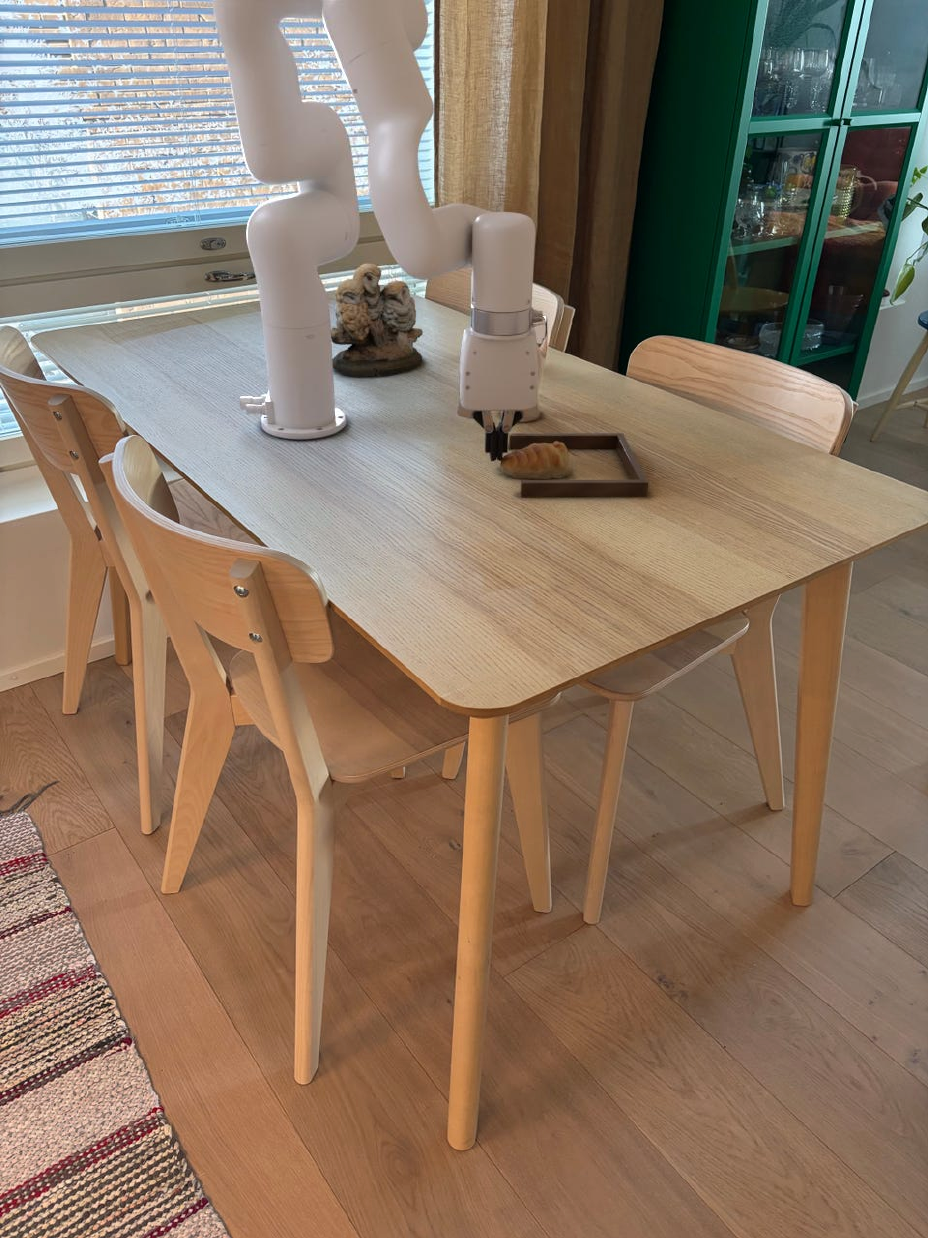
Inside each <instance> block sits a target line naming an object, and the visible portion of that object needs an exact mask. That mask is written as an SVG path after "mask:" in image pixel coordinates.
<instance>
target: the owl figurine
mask: <svg viewBox="0 0 928 1238" xmlns="http://www.w3.org/2000/svg"><path fill="white" fill-rule="evenodd" d="M381 277H382V269H381V268H380V267H378V266H377V264H374V263H364V264H361V265H360V266H359V267H357V268H356V269H355V270H354V272H353V276H352V278H346V279H345V280H344V281H342V282H340V283H339V284H338V285H337V288H336V290H335V293H334V295H335V301H336V304H335V306H334V307H335V308H334V312H335V313H334V314H335V318H336V321H335V324H336V327H331V343H333V344H335V345H339V346H347V345H349V346H348V347H347V349H344V350H342V351H339V352H338V353H337V354H336V355H335V356H333V357H332V362H333V370H335V371H337V372H338V373H339V374H341V375H343V376H347V377H355V378H365V377H374V376H375V375H377V376H380V377H384V376H391V375H397V374H401V373H405V372H407V371H412V370H414V369H416V368H417V367H419V366H420V365H421V363H422V362H423V355H422V354H421V353H420V352H419V351H418V350H417V348H415V347H414V343H416V342H417V340H418V339H419V338H421V336H423V333H424V331H423V329H422V328H418V327H414V326H415V325H416V323H417V321H416V318H417V310H416V302H415V299H414V298H413V296H411V293H410V288H409V286H408V284H407V283H406V282H404V281H403V280H398V279H396V280H393V281H390V282H388V283H387V284H386V285H385V286H384V287H383V289H381V285H380V284H379V282H380V279H381ZM376 371H377V372H376Z"/></svg>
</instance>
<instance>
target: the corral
mask: <svg viewBox="0 0 928 1238" xmlns="http://www.w3.org/2000/svg"><path fill="white" fill-rule="evenodd" d="M555 441H557V442H559V443H563V444H564V445H565V446H566V448H567V450H574V449H575V450H578V449H579V450H580V449H582V450H584V449H585V450H586V449H587V450H590V449H592V450H593V449H594V450H595V449H596V450H598V449H600V450H601V449H604V450H605V449H607V450H609V449H611V450H613V449H616V451H617V454H618V455H619V458H620V459H621V461H622V464H623V465H624V467H625V469H626V471H627V474H628V476H629V478H630V479H520V492H519V493H520V497H521V498H593V497H594V498H597V497H598V498H599V497H600V498H602V497H604V498H605V497H610V498H611V497H612V498H613V497H614V498H615V497H616V498H617V497H623V498H625V497H647V496H648V491H649V481H648V479H647V476H646V475H645V473H644V471H643V469H642V467H641V465H640V463H639V461H638V459H637V457H636V455H635V454H634V452H633V449H632V448H631V446H630V444H629V442H628V440H627V438H626V436H625V434H624V433H622V432H614V433H613V432H608V433H607V432H604V433H603V432H593V433H592V432H591V433H590V432H588V433H587V432H584V433H583V432H581V433H579V432H577V433H576V432H573V433H571V432H570V433H569V432H567V433H565V432H564V433H563V432H562V433H561V432H560V433H557V432H556V433H554V432H551V433H550V432H549V433H548V432H547V433H546V432H545V433H544V432H543V433H537V432H536V433H532V432H529V433H526V432H525V433H524V432H523V433H520V432H519V433H517V432H515V433H514V432H513V433H512V432H509V433H508V449H509V450H521V449H523V448H525V447H528V446H529V445H530V444H533V443H537V444H540V443H548V444H553V443H554V442H555Z"/></svg>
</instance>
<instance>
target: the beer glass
mask: <svg viewBox="0 0 928 1238" xmlns="http://www.w3.org/2000/svg"><path fill="white" fill-rule="evenodd" d="M531 328H534V329H535V333H536V340H537V355H538V395H539V394H540V393H539V392H540V387H541V382H542V377H543V373H544V368H545V365H546V359H547V352H548V316H546V315H545V314H543V320H542V322H536V323H533V325H531ZM537 407H538V415H537V416H534V417H530V418H525V419H521V420H520V421H519V422H518V423H528V422H532V421H535V420H536V421H537V419H539V418H540V416H541V410H540V409H541V408H540V401H539V397H538V398H537ZM502 412H503V411H500V417H502Z"/></svg>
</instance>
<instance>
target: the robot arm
mask: <svg viewBox="0 0 928 1238" xmlns="http://www.w3.org/2000/svg"><path fill="white" fill-rule="evenodd" d="M211 2H212V10H213V16H214V21H215V25H216V29H217V32H218V33H217V34H218V37H219V39H220V42H221V46H222V50H223V54H224V57H225V61H226V65H227V66H226V67H227V71H228V76H229V82H230V90H231V96H232V100H233V106H234V111H235V118H236V123H237V128H238V129H237V130H238V134H239V138H240V145H241V150H242V154H243V155H242V156H243V159H244V162H245V165H246V168H247V170H248V172H249V174H250V175H251V176H252V177H253V178H254V179H255V180H256V181H258V182H259V183H261V184H263V185H267V186H284V185H285V186H286V185H289V184H294V183H297V189H298V192H297V193H291V194H287V195H283V196H278V197H274V198H272V199H269V200H267V201H265V202H263V203H261V204H260V205H259V206H258V207H256V208H255V209H254V211H253V212H252V213H251V215H250V217H249V220H248V221H247V224H246V235H245V236H246V244H247V248H248V253H249V256H250V259H251V263H252V266H253V271H254V275H255V279H256V284H257V289H258V298H259V304H260V314H261V315H260V316H261V317H260V318H261V322H262V334H263V346H264V354H265V355H264V356H265V365H266V376H267V387H268V391H267V394H261V395H260V397H259V396H257V397H256V396H255V397H253V396H240V397H239V407H240V410H241V411H245V413H246V415H257V414H258V415H259V414H260V415H261V414H262V415H261V416H260V426H261V429H262V430H263V431H264V432H266V433H267V434H268V435H270V436H273V437H276V438H280V439H287V440H315V439H320V438H325V437H329V436H332V435H335V434H337V433H339V432H340V431H342V430H343V429H344V428H345V427H346V426H347V415H346V414H345V412H344V411H343V410H342V409H340V408H338V407H336V401H335V386H334V385H335V381H334V380H335V379H334V369H333V362H332V359H333V345H332V341H331V340H332V339H331V329H332V325H331V314H330V312H331V311H330V302H329V297H328V293H327V290H326V288H325V285H324V283H323V281H322V279H321V276H320V274H319V271H318V267H320V266H322V265H326V264H328V263H333V262H335V261H338V260H341V259H343V258H345V257H347V256H348V255H349V254H350V253H351V252H353V250H354V248H356V246H357V244H358V241H359V238H360V232H361V217H360V206H359V198H358V191H357V183H356V175H355V174H356V173H355V167H354V160H353V159H354V158H353V152H352V146H351V142H350V141H351V140H350V137H349V134H348V131H347V129H346V126H345V124H344V122H343V120H342V119H341V116H340V115H339V114H338V113H337V112H336V110H335V109H333V108H332V107H331V106H330V105H328V104H327V103H325V102H322V101H319V100H314V99H303V96H302V92H301V88H300V82H299V71H298V66H297V61H296V58H295V56H294V53H293V50H292V48H291V45H290V44H289V42H288V40H287V38H286V37H285V34H284V33H283V32H282V30H281V28H280V23H281V21H283V20H287V19H288V20H290V19H291V20H322V22H323V26H324V28H325V31H326V34H327V37H328V39H329V41H330V45H331V46H332V49H333V51H334V54H335V57H336V59H337V61H338V64H339V66H340V68H341V71H342V73H343V76H344V78H345V80H346V83H347V85H348V87H349V90H350V92H351V95H352V97H353V99H354V102H355V105H356V108H357V110H358V112H359V115H360V117H361V119H362V122H363V124H364V127H365V129H366V132H367V133H366V134H367V136H368V149H367V150H368V151H367V184H368V185H367V186H368V194H369V200H370V204H371V208H372V212H373V213H374V214H373V215H374V217H375V219H376V221H377V225H378V227H379V229H380V231H381V233H382V236H383V239H384V241H385V243H386V245H387V248H388V250H389V252H390V254H391V255H392V257H393V259H394V260H395V262H396V263H397V265H398V266H399V267H400V268H401V270H402V271H403V272H405V273H406V274H407V275H408V276H410V277H411V278H413V279H416V280H420V281H421V280H422V281H429V280H435V279H437V278H440V277H443V276H445V275H448V274H450V273H453V272H457V271H460V270H463V269H467V268H470V267H471V279H470V280H471V281H470V282H471V283H470V284H471V285H470V287H471V288H470V326H466V327H465V328H464V331H463V334H462V341H461V349H460V356H459V357H460V358H459V371H458V372H459V373H458V395H459V400H458V404H457V407H456V413H457V415H458V417H462V418H466V419H471V420H474V421H475V422H476V424H478V425H479V426H480V427H481V428H482V430H484V432H485V433H484V452H485V454H489V458H490V459H489V460H490V462H495V461H498V462H501V461H502V460H503V456H504V454H508V449H509V434H510V433H511V431H512V429H513V428H514V427H515V426H516V425H517V424H518V423H520V422H519V421H520V420H521V419H525V418H530V417H534V416H537V415H538V407H537V398H538V399H539V394H538V355H537V340H536V333H535V329H534V328H531V325H533V323H536V322H542V320H543V315H544V313H543V312H544V311H543V310H537V309H535V308H534V307H533V306H532V305H533V304H532V303H533V283H534V267H535V266H534V264H535V248H536V247H535V245H536V226H535V222H534V220H533V219H532V217H530V216H528V215H526V214H523V213H519V212H513V211H512V212H511V211H491V210H488V209H484V208H481V207H478V206H475V205H471V204H467V203H461V202H459V203H458V202H457V203H450V204H446V205H443V206H438V207H435V208H432V207H431V204H430V201H429V199H428V196H427V195H426V191H425V189H424V186H423V183H422V179H421V175H420V170H419V148H420V143H421V140H422V137H423V134H424V132H425V130H426V128H427V126H428V124H429V123H430V121H431V119H432V117H433V114H434V110H435V107H434V101H433V98H432V96H431V94H430V91H429V88H428V85H427V84H426V81H425V78H424V75H423V73H422V71H421V68H420V66H419V63H418V60H417V58H416V55H415V53H414V52H416V51H417V50H419V49H420V47H421V46H422V45H423V43H424V41H425V39H426V37H427V32H428V28H429V17H428V16H429V15H428V10H427V5H426V2H425V0H211ZM501 411H503V412H502V416H500V417H501V418H500V421H499V422H498V424H497V426H496V424H495V423H496V422H494V421H493V414H492V412H501Z"/></svg>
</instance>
